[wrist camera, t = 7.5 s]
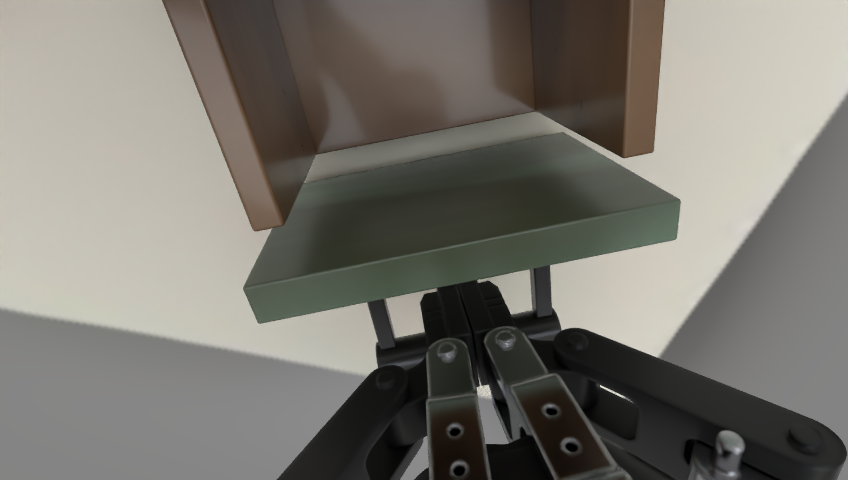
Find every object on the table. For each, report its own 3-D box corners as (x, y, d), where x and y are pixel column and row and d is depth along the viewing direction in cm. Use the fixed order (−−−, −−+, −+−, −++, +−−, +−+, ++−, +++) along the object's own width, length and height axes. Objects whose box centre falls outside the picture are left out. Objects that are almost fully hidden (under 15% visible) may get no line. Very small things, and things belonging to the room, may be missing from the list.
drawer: (566, 270, 21) (660, 392, 14) (336, 317, 21) (318, 463, 14) (554, -295, 12) (784, -703, 5) (159, -222, 12) (-125, -546, 5)
